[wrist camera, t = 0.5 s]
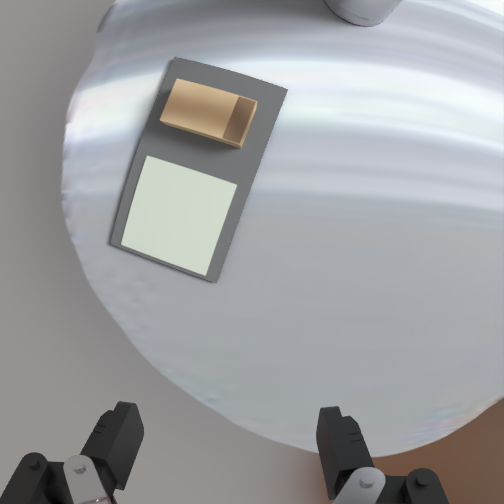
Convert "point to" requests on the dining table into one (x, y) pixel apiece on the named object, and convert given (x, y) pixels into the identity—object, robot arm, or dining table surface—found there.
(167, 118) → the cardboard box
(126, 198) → the mat
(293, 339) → the dining table surface
